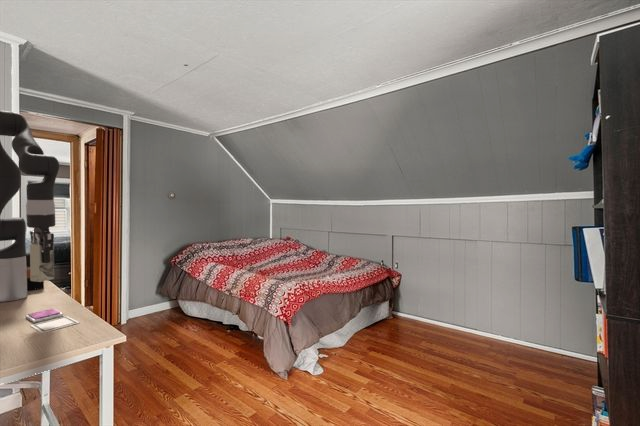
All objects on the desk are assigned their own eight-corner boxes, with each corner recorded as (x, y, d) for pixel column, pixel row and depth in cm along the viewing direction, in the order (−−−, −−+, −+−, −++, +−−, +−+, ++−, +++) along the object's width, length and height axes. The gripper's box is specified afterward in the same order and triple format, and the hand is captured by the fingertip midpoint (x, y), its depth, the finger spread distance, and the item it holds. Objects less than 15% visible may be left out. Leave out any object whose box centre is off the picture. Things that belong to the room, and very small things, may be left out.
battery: (22, 289, 146) (21, 267, 145) (41, 286, 151) (40, 265, 151) (24, 291, 143) (23, 269, 143) (44, 288, 148) (43, 266, 148)
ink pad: (25, 318, 113) (25, 314, 113) (53, 311, 119) (53, 307, 119) (34, 323, 108) (33, 319, 108) (62, 316, 115) (62, 312, 115)
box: (40, 282, 110) (38, 244, 109) (29, 281, 111) (28, 244, 110) (55, 278, 115) (54, 242, 115) (45, 277, 116) (44, 241, 115)
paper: (30, 326, 106) (30, 325, 106) (67, 316, 114) (67, 315, 114) (41, 333, 101) (41, 332, 101) (79, 323, 109) (79, 321, 109)
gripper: (19, 212, 113) (21, 260, 114) (34, 214, 105) (36, 266, 106) (46, 211, 119) (48, 257, 120) (62, 213, 111) (64, 262, 112)
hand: (42, 261), depth 113 cm, fingers closed on box, 5 cm apart
